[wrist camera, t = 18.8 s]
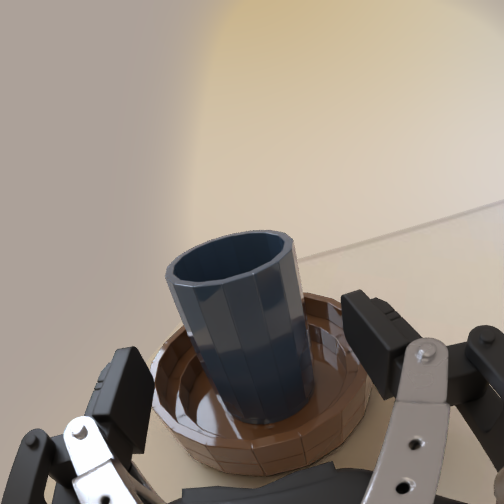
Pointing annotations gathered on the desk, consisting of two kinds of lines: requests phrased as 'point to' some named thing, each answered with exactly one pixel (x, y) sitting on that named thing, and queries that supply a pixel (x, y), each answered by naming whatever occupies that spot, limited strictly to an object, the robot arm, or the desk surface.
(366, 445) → the desk surface
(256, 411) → the cup
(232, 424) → the bowl
